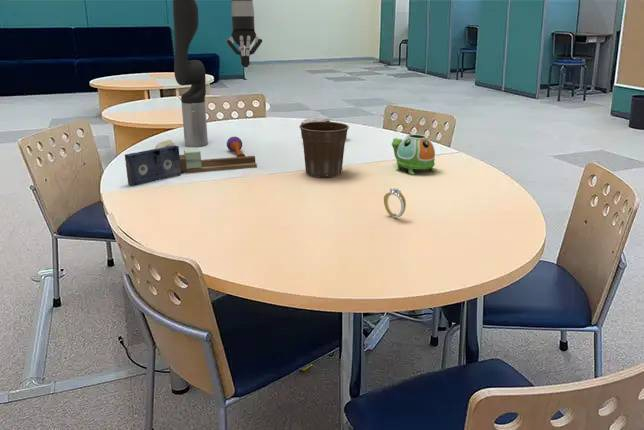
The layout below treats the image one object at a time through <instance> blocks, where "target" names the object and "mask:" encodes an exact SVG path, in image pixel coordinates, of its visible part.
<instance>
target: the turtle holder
mask: <svg viewBox="0 0 644 430" xmlns="http://www.w3.org/2000/svg"><path fill="white" fill-rule="evenodd" d="M391 146H392V148H393V153H394V158H395V159H396V161H395V162H396V164H397V166H396V171H398V170H399V171H401V170H402V168H404V169H407V171H408V174H409V175H411V176H413V175H416V173H415V170H428V171H429V172H430V171H431V172H430V173H435V172H436V171H435V169H434V168H433V167H434V166H435V164H436V163H435V158H436V157H435V156H436V149H435V146H434V144H433V142H432V141H431V139H429V138H428V136H426V135H423V134H419V133H418V134H417V133H413V134H407V135H406V136H405V137H404V138H403V139H402V138H397V137H396V138H393V140H392V142H391ZM400 169H401V170H400Z"/></svg>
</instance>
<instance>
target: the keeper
mask: <svg viewBox="0 0 644 430" xmlns="http://www.w3.org/2000/svg"><path fill="white" fill-rule="evenodd" d="M201 154H202V153H201V150H200V148H199V147H190V148H183V155H185V158H186V166H187V169H190V168H202V165H201V160H202V155H201Z"/></svg>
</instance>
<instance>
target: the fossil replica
mask: <svg viewBox="0 0 644 430" xmlns="http://www.w3.org/2000/svg"><path fill="white" fill-rule="evenodd" d="M174 145H175V146H177V145H176V144H175V143H174V142H173V141H172V140H171V139H168V140H167V139H166V140H164V141H162V142H159V143H157V144H156V145H155V147H154V149H159V148H164V147H169V146H174Z"/></svg>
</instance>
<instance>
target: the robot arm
mask: <svg viewBox="0 0 644 430" xmlns="http://www.w3.org/2000/svg"><path fill="white" fill-rule="evenodd" d="M172 13H173V14H172V15H173V16H172V17H173V29H174V62H173V69H174V70H173V71H174V72H173V73H174V78H175V81H176V83H177V84H178V85H179V86H190V85H191V86H190V88H189V89H188V91H186V92H184V93H183V94H181V96H180V101H181V102H180V103H181V111H182V112H181V113H182V114H181V115H182V125H183V126H182V127H183V137H184V139H183V140H184V145H185V146H186V147H190V148H199V147H203V146H207V145H208V144H209V141H208V140H209V138H208V127H207V112H206V94H207V90H206V86H207V85H206V83H207V82H206V69H205V66H204V64H203V62H202V61H200V60H197V59H191V60H189V59H188V57H189V56H188V55H189V49H190V45H191V43H192V41H193V40H194V37H195V35H196V33H197V31H198V29H199V25H200V24H199V21H200V19H199V7H198V4H197V2H196V0H172ZM231 23H232V25H231V26H232V27H231V28H232V31H231V35H230V36H229V38H228V39H225V43H226V44H227V45H228V46H229V48H230V49H231V50H232V52H233V53H234V54H236V55H238V56H240V65H241V66H242V67H243V68H248V67H249V66H250V64H251V62H250V56H251V55H253V54H255V53H256V51H257V50H258V49H259V47H260V46H261V44H262V43H263V39H261V38H260V37H258V36H257V32H256V31H255V10H254V3H253V0H231ZM253 42H254V44H253ZM234 43H235V44H236V45H237V46H238V49H239V50H238V49H237V47H236V46H235V45H234ZM252 44H253V46H252V47H251V45H252ZM250 48H251V49H250Z"/></svg>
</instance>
